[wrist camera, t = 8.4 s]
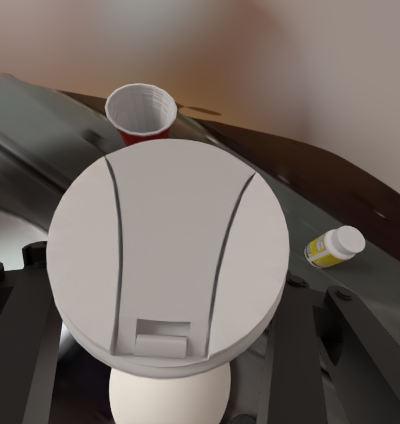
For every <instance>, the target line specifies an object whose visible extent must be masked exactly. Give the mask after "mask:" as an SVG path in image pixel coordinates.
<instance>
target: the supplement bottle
mask: <svg viewBox="0 0 400 424" xmlns="http://www.w3.org/2000/svg"><path fill="white" fill-rule="evenodd" d="M364 247H365V239H364V237H363V235H362V234H361V233H360V232H359V231H358V230H357V229H355V228H353V227H351V226H343V227H340V228H338V229H334V230H330V231H328V232H326V233H325V234H323V235H322V236H320V237H318V238H317V239H315V240H313V241H312V242H310V243H309V244H307V246H306V247H305V256H306V259H307V260H308V261H309V263H310V264H312V265H313V266H314V267H316V268H327V267H329V266H332V265H335V264H338V263H340V262H343V261H346V260H348V259H351V258H352V257H353V256H354V255H355V254H356V253H358V252H361V251H362V250H363V249H364Z"/></svg>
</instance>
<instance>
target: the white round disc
mask: <svg viewBox="0 0 400 424" xmlns="http://www.w3.org/2000/svg"><path fill="white" fill-rule="evenodd" d="M230 383H231V374H230V364H229V362H228V363H227V364H224V365H222V366H220V367H218V368H216V369H214V370H212V371H209V372H207V373H204V374H200V375H196V376H192V377H188V378H184V379H168V380H156V379H149V378H142V377H136V376H133V375H130V374H127V373H124V372H122V371H119V370H116V369H113V368H112V370H111V376H110V386H109V395H110V405H111V410H112V414H113V417H114V420H115V423H116V424H219V423H220V421H221V419H222V417H223V414H224V412H225V409H226V406H227V402H228V399H229V393H230Z"/></svg>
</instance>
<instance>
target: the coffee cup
mask: <svg viewBox="0 0 400 424" xmlns="http://www.w3.org/2000/svg"><path fill="white" fill-rule="evenodd" d="M105 157H106V159H107V161H106V159H105ZM105 157H104V156H103V157H102V158H100V159H98V160H97V161H96V162H94V163H93V164H92V165H90V166H89V167H88V168H87V169H85V170H84V171H83V172H82V173H81V174H80V175H79V176H78V177H77V179H76V180H75V181H74V182H73V183H72V184H71V186H70V187H69V188H68V190H67V191H66V193H65V194H64V195H63V197H62V199H61V201H60V203H59V205H58V207H57V209H56V211H55V213H54V216H53V219H52V222H51V225H50V229H49V234H48V241H47V248H46V256H47V271H48V276H49V280H50V284H51V288H52V292H53V296H54V300H55V304H56V307H57V309H58V311H59V313H60V315H61V317H62V320H63V322H64V324H65V325H66V327H67V328H68V329H69V331H70V332H71V334H72V335H73V336H74V338H75V339H76V340H77V342H78V343H79V344H80V345H82V346H83V347H84V348H85V349H86V350H87V351H88V352H89V353H90V354H91V355H92V356H94V357H95V358H97V359H98V360H100V361H102V362H103V363H105V364H107V365H108V366H110V367H112V368H113V369H116V370H119V371H122V372H124V373H127V374H130V375H133V376H136V377H142V378H149V379H156V380H168V379H184V378H188V377H192V376H196V375H200V374H204V373H207V372H209V371H212V370H214V369H216V368H218V367H220V366H222V365H224V364H227V363H228V362H230V361H231V360H233V359H234V358H235V357H237V356H238V355H240V354H241V353H242V352H244V351H245V350H246V349H247V348H248V347H249V346H250V345H251V344H252V343H253V342H254V341H255V340H256V339H257V338H258V337H259V336H260V335H261V334H262V332H263V331H264V329H265V328H266V326H267V325H268V323H269V322H270V320H271V319H272V317H273V315H274V313H275V311H276V309H277V306H278V304H279V302H280V300H281V296H282V292H283V289H284V285H285V280H286V274H287V270H288V262H289V251H290V250H289V236H288V230H287V226H286V221H285V217H284V214H283V212H282V209H281V207H280V204H279V202H278V200H277V198H276V197H275V195H274V193H273V191H272V190H271V188H270V187H269V186H268V184H267V183H266V182H265V180H264V179H263V178H262V177H261V176H260V175H259V174H258V173H257V172H256V174H255V170H253V169H252V168H250V167H249V166H248V165H246V164H245V163H243V162H242V161H241V160H239V159H237V158H236V157H234V156H233V155H231V154H229V153H228V152H226V151H224V150H222V149H219V148H217V147H215V146H212V145H209V144H205V143H201V142H196V141H190V140H181V139H156V140H150V141H145V142H140V143H137V144H134V145H131V146H128V147H125V148H123V149H120V150H118V151H115V152H113V153H110V154H108V155H106V156H105ZM107 162H108V164H107ZM254 174H255V175H254ZM253 176H254V177H253Z"/></svg>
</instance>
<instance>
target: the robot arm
mask: <svg viewBox="0 0 400 424" xmlns="http://www.w3.org/2000/svg"><path fill="white" fill-rule="evenodd" d="M46 248H47V241H40V242H35V243H31V244H29V245H27V246H25V247H24V248H22V254H23V260H24V268H23V269H20V270H10V271H4V266H3V263H1V262H0V424H48V418H49V411H50V405H51V398H52V391H53V384H54V377H55V370H56V363H57V356H58V349H59V342H60V336H61V329H62V322H63V320H62V317H61V315H60V313H59V311H58V309H57V307H56V304H55V300H54V296H53V292H52V288H51V284H50V280H49V276H48V271H47V256H46ZM267 333H268V339H267V347H266V354H265V362H264V369H263V377H262V384H261V392H260V399H259V407H258V414H257V421H256V424H328V421H327V413H326V406H325V398H324V391H323V383H322V376H321V368H320V361H319V353H318V348H319V351H320V353H321V355H322V358H323V360H324V362H325V365H326V367H327V370H328V372H329V374H330V377H331V379H332V381H333V384H334V386H335V389H336V391H337V393H338V396H339V398H340V401H341V403H342V405H343V408H344V410H345V412H346V415H347V417H348V420H349V422H350V424H400V346H399V345H398V343H397V342H396V341H395V340H394V339H393V338H392V336H391V335H390V334H389V333H388V332H387V330H386V329H385V328H384V327H383V326H382V324H381V323H380V322H379V321H378V320H377V318H376V317H375V316H374V315H373V314H372V312H371V311H370V310H369V309H368V308H367V306H366V305H365V304H364V303H363V302H362V300H361V299H360V298H359V297H358V296H357V295H356V294H355V293H353V292H351V291H350V290H348V289H345V288H344V287H339V286H330V287H328V289H327V292H326V293H323V292H319V291H315V290H312V289H310V286H309V284H308V283H307V282H306V281H305V280H303V279H302V278H300V277H297V276H294V275H292V274H291V273H290V272H289V270H287V274H286V280H285V285H284V289H283V292H282V296H281V300H280V302H279V304H278V306H277V309H276V311H275V313H274V315H273V317H272V319H271V320H270V323H269V327H268V331H267Z"/></svg>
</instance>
